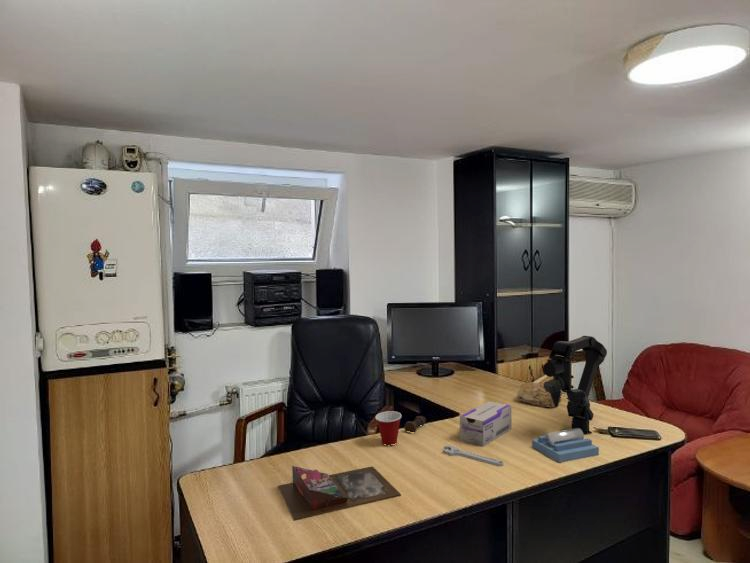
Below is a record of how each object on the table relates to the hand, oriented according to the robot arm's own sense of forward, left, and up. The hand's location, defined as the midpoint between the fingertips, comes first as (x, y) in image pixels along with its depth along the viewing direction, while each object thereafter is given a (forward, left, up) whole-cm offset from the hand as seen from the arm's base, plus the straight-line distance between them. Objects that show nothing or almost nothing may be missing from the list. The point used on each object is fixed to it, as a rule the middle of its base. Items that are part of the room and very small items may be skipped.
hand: (563, 410), depth 204 cm
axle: (+8, +10, -9) cm, 16 cm away
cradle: (+8, +10, -12) cm, 18 cm away
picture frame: (+98, +9, -13) cm, 99 cm away
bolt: (+50, -36, -12) cm, 63 cm away
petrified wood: (-21, -44, -12) cm, 50 cm away
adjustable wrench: (+44, +2, -13) cm, 46 cm away
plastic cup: (+68, -23, -12) cm, 73 cm away
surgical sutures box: (+26, -17, -12) cm, 33 cm away
